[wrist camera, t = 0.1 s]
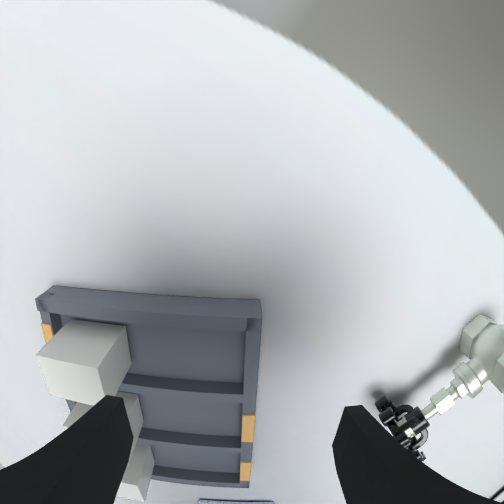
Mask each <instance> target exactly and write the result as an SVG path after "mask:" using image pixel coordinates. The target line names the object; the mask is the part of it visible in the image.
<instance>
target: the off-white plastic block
mask: <svg viewBox="0 0 504 504" xmlns="http://www.w3.org/2000/svg"><path fill="white" fill-rule="evenodd" d="M36 358H37V361H38V364H39V367H40V370H41V373H42V376H43V379H44V381H45V384H46V387H47V389H48V392H49V394H50V395H53V396H57V397H60V398H64V399H68V400H72V401H76V402H80V403H84V404H88V405H93V406H94V405H95V404H96V403H97V402H99V401H100V400H101V399H102V398H103V397H105V396H106V395H110V396H115V395H116V393H117V391H118V389H119V387H120V385H121V383H122V381H123V379H124V377H125V375H126V373H127V371H128V370H129V368H130V366H131V364H132V363H131V357H130V351H129V345H128V339H127V332H126V326H122V325H113V324H105V323H97V322H89V321H82V320H75V319H70V320H69V321H68V322H67V323H66V324H65V325H64V326H63V327H62V328H61V329H60V330H59V331H58V332H57V333H56V334H55V335H54V336H53V337H52V338H51V339H50V340H49V342H48V343H47V344H46V345H45V346H44V347H43V348H42V349H41V350H40V351H39V352H38V353H37V354H36Z"/></svg>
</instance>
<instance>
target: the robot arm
mask: <svg viewBox="0 0 504 504" xmlns="http://www.w3.org/2000/svg"><path fill="white" fill-rule="evenodd" d="M133 439H134V436H133V433H132V429H131V426H130V422H129V419H128V415H127V412H126V408H125V404H124V400H123V398H121V397H116V396H110V395H106V396H105V397H103V398H102V399H101V400H100V401H99V402H97V403H96V404H95V405H94V406H93V407H92V408H91V409H90V410H88V411H87V412H86V413H85V414H84V415H83V416H82V417H80V418H79V419H78V420H77V421H76V422H75V423H73V424H72V425H71V426H70V427H69V428H67V429H66V430H65V431H64V432H62V433H61V434H60V435H59V436H57V437H56V438H54V439H53V440H52V441H50V442H49V443H48V444H46V445H45V446H44V447H42V448H41V449H39V450H38V451H36V452H34V453H33V454H31V455H29V456H28V457H26V458H24V459H22V460H21V461H19V462H17V463H15V464H12V465H10V466H8V467H6V468H3V469H1V470H0V504H113V503H114V500H115V497H116V494H117V492H118V489H119V486H120V483H121V481H122V478H123V475H124V473H125V470H126V467H127V464H128V461H129V457H130V453H131V448H132V443H133ZM332 447H333V453H334V460H335V466H336V471H337V474H338V477H339V481H340V484H341V487H342V491H343V494H344V497H345V500H346V503H347V504H504V503H501V502H497V501H494V500H491V499H488V498H485V497H483V496H480V495H478V494H475V493H473V492H471V491H469V490H466V489H464V488H462V487H460V486H458V485H456V484H455V483H453V482H451V481H449V480H448V479H446V478H444V477H443V476H441V475H440V474H438V473H437V472H435V471H434V470H432V469H431V468H429V467H428V466H427V465H425V464H424V463H423V462H421V461H420V460H419V459H418V458H416V457H415V456H414V455H413V454H411V453H410V452H409V451H408V450H407V449H406V448H405V447H404V446H402V445H401V444H400V443H399V442H398V441H397V440H396V439H395V438H394V437H393V436H392V435H391V434H390V433H389V432H388V431H387V430H386V429H385V428H384V427H383V426H382V425H381V424H380V423H379V422H378V421H377V420H376V419H375V418H374V417H373V416H372V415H371V414H370V413H369V412H368V411H367V410H366V409H365V408H364V407H363V406H362V405H358V406H348V407H345V408H344V411H343V414H342V417H341V420H340V424H339V427H338V430H337V433H336V436H335V439H334V441H333V444H332ZM198 504H274V503H273V502H228V501H211V500H199V502H198Z"/></svg>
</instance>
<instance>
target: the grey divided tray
mask: <svg viewBox="0 0 504 504" xmlns="http://www.w3.org/2000/svg"><path fill="white" fill-rule="evenodd" d="M35 301H36V306H37V310H38V311H40V314H41V318H42V323H41V326H42V330H43V334H44V338H45V342H46V344H47V343H48V342H49V340H50V339H51V338H52V337H53V336H54V335H55V334H56V333H57V332H58V331H59V330H60V329H61V328H62V327H63V326H64V325H65V324H66V323H67V322H68V321H69V320H70V319H75V320H82V321H89V322H97V323H105V324H113V325H122V326H126V332H127V339H128V345H129V351H130V357H131V363H132V364H131V366H130V368H129V370H128V371H127V373H126V375H125V377H124V379H123V381H122V383H121V385H120V387H119V389H118V391H120V392H126V393H132V394H138V398H139V403H140V407H141V411H142V416H143V420H144V422H143V425H142V428H141V431H140V434H139V437H138V440H137V442H136V443H139V444H145V445H150V447H151V450H152V454H153V457H154V461H155V464H154V467H153V471H152V475H151V479H154V480H160V481H166V482H174V483H181V484H190V485H201V486H213V487H233V488H249V482H250V472H251V458H252V446H253V437H254V424H255V408H256V395H257V382H258V368H259V354H260V340H261V325H262V314H261V305H260V300H253V299H226V298H205V297H186V296H170V295H154V294H140V293H127V292H115V291H104V290H93V289H82V288H72V287H63V286H52V287H51V288H49V289H48V290H47V291H45V292H44V293H43V294H41V295H40V296H38V297H37V298H36V299H35ZM66 401H67V404H68V406H69V409H70V411H72V409H73V408H74V406H75V405H76V403H77V402H76V401H72V400H68V399H66Z"/></svg>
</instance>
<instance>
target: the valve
mask: <svg viewBox="0 0 504 504" xmlns="http://www.w3.org/2000/svg"><path fill="white" fill-rule="evenodd" d="M459 349H460V350H461V351H462V352H463V353H464V354H465V355H466V356H467V357H468V358H469V359H471V360H469V361H468V362H467V363H464V362H462V363H460V364H459V365H458V366H457V367H456V368H455V369H454V370H453V374H454V376H455V378H454V379H453V380H452V381H451V382H450V383H451V386H450V387H449V388H448V389H446V390H445V388H444V387H443V388H442V389H441V390H440V391H439V392H437V393H436V394H435V395H433V396H432V397H431V398H430V400H431V402H432V403H430V404H429V405H428V406H426V407H425V408H424V409H422V410H420V408H419V407H418V406H417V407H415V408H414V409H413V407H412V406H410V405H401V406H399V407H397V408H396V407H395V405H394V404H393V402H392V401H390V402H389V399H388V398H387V397H386V396H384V397H382V398H381V399H379V400H378V401H376V402H375V406H376V407H377V409H378V411H379V412H380V414H379V418H380V420H381V422H382V423H383V424H384V426H387V427H388V428H389V429H390V431H391V433H392V435H393V437H394V438H395V439H396V440H397V441H398V442H399V443H400V444H401V445H402V446H404V447H405V448H406V449H407V450H408V451H409V452H410V453H411V454H413V455H414V456H415V457H416V458H418V459H419V460H420V461H421V462H422V461H424V460H425V459H426V457H425V455H424V453H423V452H419V451H418V450H417V449H418V448H419V447H421V446H422V445H423V444H424V443H425V442H426V440H427V438H428V431H427V429H426V428H427V427H429V426H430V424H429V422H428V421H427V420H428V419H430V418H431V417H432V416H434V415H435V414H436V413H438V412H439V414H440V415H442V414H443V413H444V412H446V411H447V410H448V409H449V408H451V407H452V406H453V405H454V404H455V403H454V400H456V399H457V398H458V397H460V398H463V397H464V396H465V395H466V394H467V395H468V396H469V397H470V398H472V399H473V398H474V397H475V396H476V395H477V394H478V393H480V392H481V391H482V385H483V384H484V383H485V382H486V381H487V380H491V382H492V383H493V384H494V385H495V386H496V387H497V388H498V389H499V391H500V392H501V393H504V325H498V324H497V323H496V322H494V321H493V320H492V319H490V318H488V317H486V316H483V315H481V314H478V315H477V316H476V317H475V318H474V319H473V320H472V321H471V322H470V323H469V324H468V325H467V326H466V327H465V328H464V329H463V331H462V336H461V342H460V347H459ZM404 412H408V413H407V414H406V415H404V416H403V417H401V418H400V419H399V418H398V416H399V415H401V414H402V413H404ZM419 433H421V437H420V438H419V439H418V440H417V439H416V437H415V436H416V435H417V434H419ZM412 435H413V436H414V437H412V438H411V436H412Z"/></svg>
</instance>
